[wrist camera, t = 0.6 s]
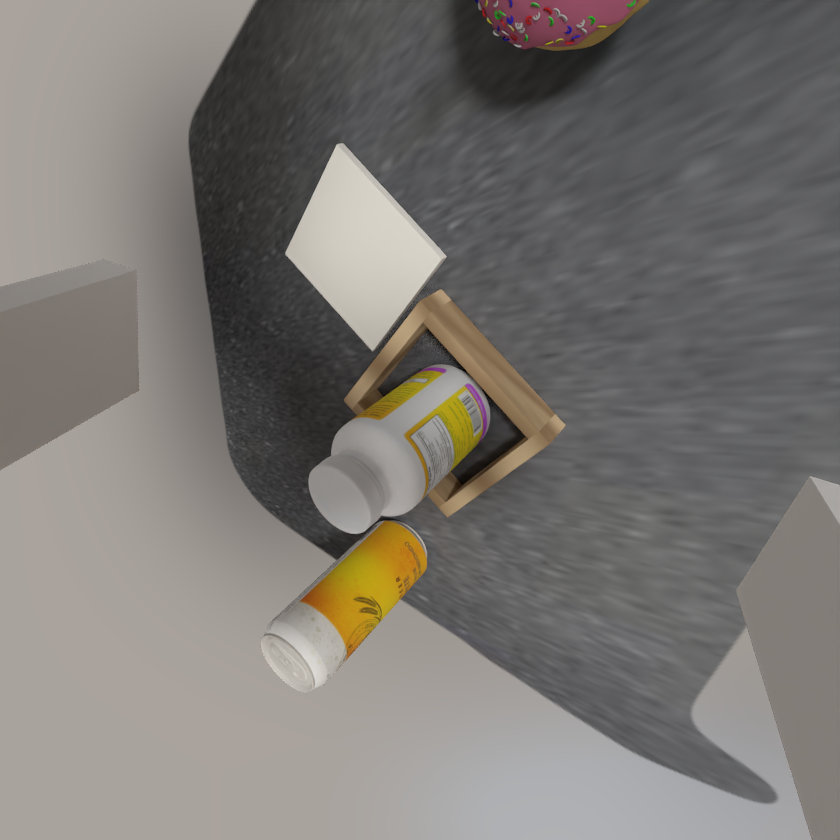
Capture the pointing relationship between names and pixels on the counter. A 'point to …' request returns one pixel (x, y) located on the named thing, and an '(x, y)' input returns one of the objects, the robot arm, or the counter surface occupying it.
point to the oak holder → (485, 370)
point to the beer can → (343, 605)
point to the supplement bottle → (400, 448)
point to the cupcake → (557, 21)
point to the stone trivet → (362, 249)
